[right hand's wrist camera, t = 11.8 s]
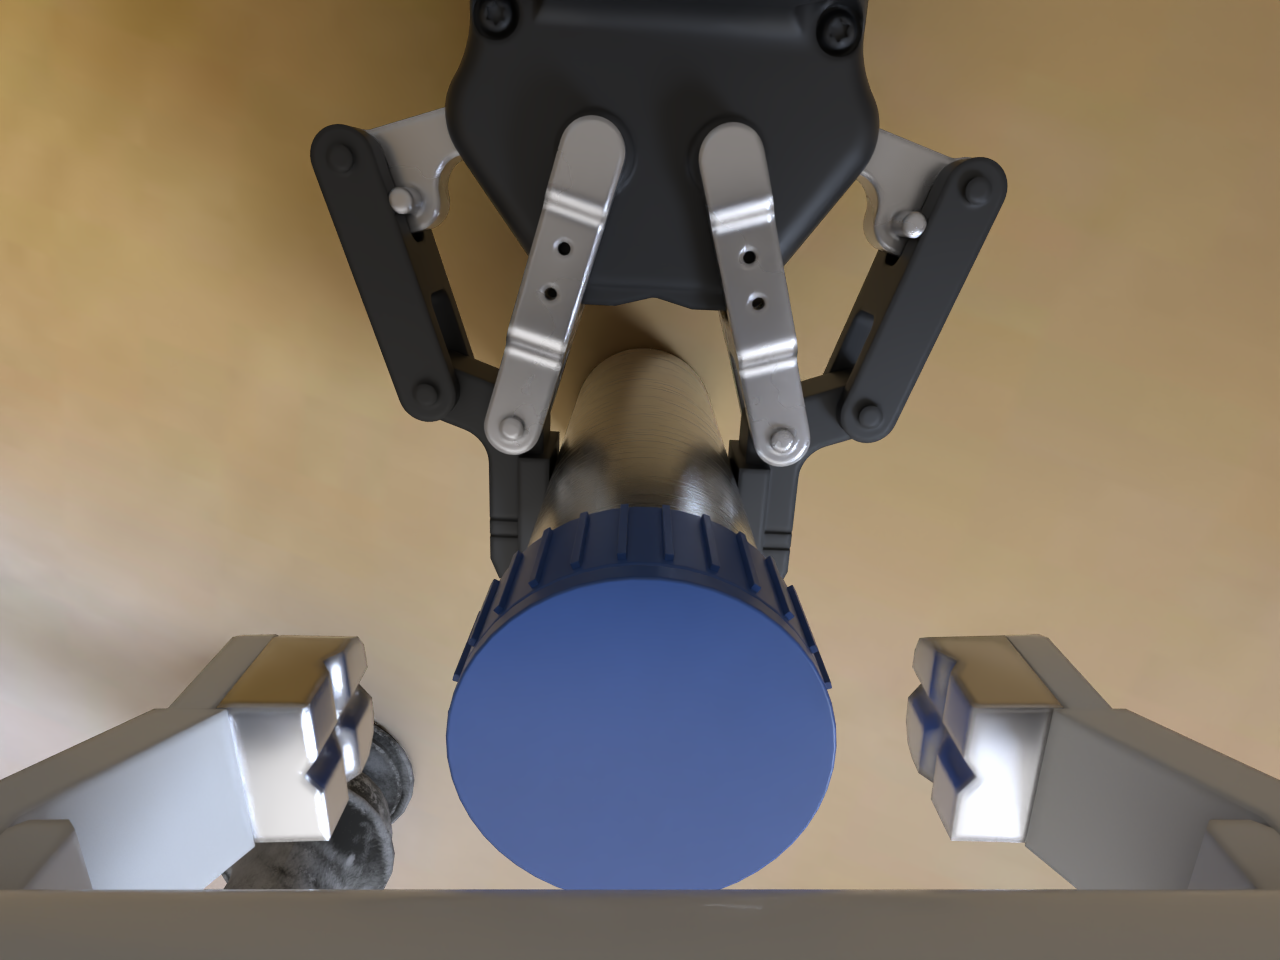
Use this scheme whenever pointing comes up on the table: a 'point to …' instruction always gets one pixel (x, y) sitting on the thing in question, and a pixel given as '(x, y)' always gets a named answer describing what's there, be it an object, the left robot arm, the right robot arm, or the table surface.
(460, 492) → the table surface
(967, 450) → the table surface
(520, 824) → the lid
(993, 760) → the right robot arm
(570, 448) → the jar
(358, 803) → the grey stone tiered figure
